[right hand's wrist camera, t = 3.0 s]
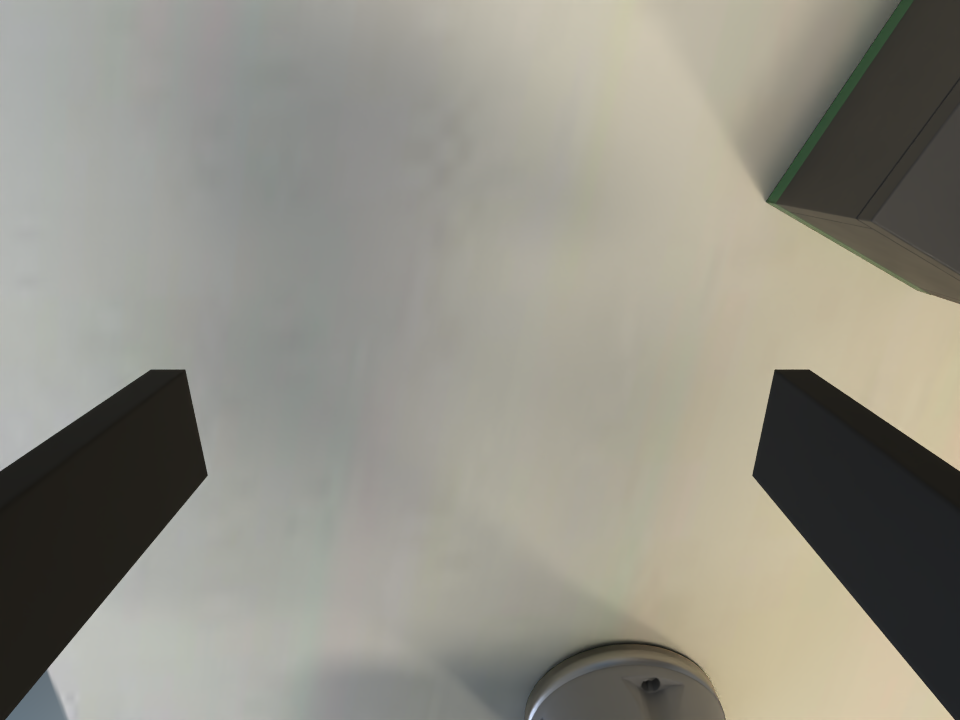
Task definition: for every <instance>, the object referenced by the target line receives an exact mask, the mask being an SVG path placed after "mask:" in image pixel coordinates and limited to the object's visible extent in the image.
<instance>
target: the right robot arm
mask: <svg viewBox="0 0 960 720" xmlns="http://www.w3.org/2000/svg"><path fill="white" fill-rule="evenodd" d="M207 476H208V475H207V470H206V465H205V461H204V456H203V451H202V446H201V442H200V437H199V432H198V428H197V423H196V418H195V413H194V409H193V404H192V399H191V395H190V390H189V385H188V380H187V376H186V371H185V370H150V371H148V372H147V373H145V374H144V375H142V376H141V377H139V378H138V379H136V380H135V381H133V382H132V383H130V384H129V385H127V386H126V387H124V388H123V389H121V390H120V391H119V392H117V393H116V394H114V395H113V396H111V397H110V398H108V399H107V400H105V401H104V402H102V403H101V404H99V405H98V406H96V407H95V408H93V409H92V410H90V411H89V412H87V413H86V414H84V415H83V416H82V417H80V418H79V419H77V420H76V421H74V422H73V423H71V424H70V425H68V426H67V427H65V428H64V429H62V430H61V431H59V432H58V433H56V434H55V435H53V436H52V437H50V438H49V439H48V440H46V441H45V442H43V443H42V444H40V445H39V446H37V447H36V448H34V449H33V450H31V451H30V452H28V453H27V454H25V455H24V456H22V457H21V458H19V459H18V460H16V461H15V462H13V463H12V464H11V465H9V466H8V467H6V468H5V469H3V470H2V471H0V720H5V719H6V718H7V717H8V716H9V714H10V713H11V712H12V711H13V710H14V708H15V707H16V706H17V705H18V704H19V702H20V701H21V700H22V699H23V698H24V696H25V695H26V694H27V693H28V692H29V690H30V689H31V688H32V687H33V685H34V684H35V683H36V682H37V681H38V679H39V678H40V677H41V676H42V675H43V673H44V672H45V671H46V670H47V669H48V667H49V666H50V665H51V664H52V663H53V661H54V660H55V659H56V658H57V657H58V655H59V654H60V653H61V652H62V651H63V649H64V648H65V647H66V646H67V645H68V643H69V642H70V641H71V640H72V638H73V637H74V636H75V635H76V634H77V632H78V631H79V630H80V629H81V628H82V626H83V625H84V624H85V623H86V622H87V620H88V619H89V618H90V617H91V616H92V614H93V613H94V612H95V611H96V610H97V608H98V607H99V606H100V605H101V604H102V602H103V601H104V600H105V599H106V598H107V596H108V595H109V594H110V593H111V591H112V590H113V589H114V588H115V587H116V585H117V584H118V583H119V582H120V581H121V579H122V578H123V577H124V576H125V575H126V573H127V572H128V571H129V570H130V569H131V567H132V566H133V565H134V564H135V563H136V561H137V560H138V559H139V558H140V557H141V555H142V554H143V553H144V552H145V550H146V549H147V548H148V547H149V546H150V544H151V543H152V542H153V541H154V540H155V538H156V537H157V536H158V535H159V534H160V532H161V531H162V530H163V529H164V528H165V526H166V525H167V524H168V523H169V522H170V520H171V519H172V518H173V517H174V516H175V514H176V513H177V512H178V511H179V509H180V508H181V507H182V506H183V505H184V503H185V502H186V501H187V500H188V499H189V497H190V496H191V495H192V494H193V493H194V491H195V490H196V489H197V488H198V487H199V485H200V484H201V483H202V482H203V481H204V479H205V478H206V477H207ZM752 476H753V477H754V478H755V479H756V481H757V482H758V483H759V484H760V485H761V487H762V488H763V489H764V490H765V491H766V493H767V494H768V495H769V496H770V497H771V499H772V500H773V501H774V502H775V503H776V505H777V506H778V507H779V508H780V509H781V511H782V512H783V513H784V514H785V516H786V517H787V518H788V519H789V520H790V522H791V523H792V524H793V525H794V526H795V528H796V529H797V530H798V531H799V532H800V534H801V535H802V536H803V537H804V538H805V540H806V541H807V542H808V543H809V544H810V546H811V547H812V548H813V549H814V550H815V552H816V553H817V554H818V555H819V557H820V558H821V559H822V560H823V561H824V563H825V564H826V565H827V566H828V567H829V569H830V570H831V571H832V572H833V573H834V575H835V576H836V577H837V578H838V579H839V581H840V582H841V583H842V584H843V585H844V587H845V588H846V589H847V590H848V591H849V593H850V594H851V595H852V596H853V598H854V599H855V600H856V601H857V602H858V604H859V605H860V606H861V607H862V608H863V610H864V611H865V612H866V613H867V614H868V616H869V617H870V618H871V619H872V620H873V622H874V623H875V624H876V625H877V626H878V628H879V629H880V630H881V631H882V632H883V634H884V635H885V636H886V637H887V638H888V640H889V641H890V642H891V643H892V645H893V646H894V647H895V648H896V649H897V651H898V652H899V653H900V654H901V655H902V657H903V658H904V659H905V660H906V661H907V663H908V664H909V665H910V666H911V667H912V669H913V670H914V671H915V672H916V673H917V675H918V676H919V677H920V678H921V679H922V681H923V682H924V683H925V684H926V686H927V687H928V688H929V689H930V690H931V692H932V693H933V694H934V695H935V696H936V698H937V699H938V700H939V701H940V702H941V704H942V705H943V706H944V707H945V708H946V710H947V711H948V712H949V713H950V714H951V716H952V717H953V718H954V719H955V720H960V471H958V470H957V469H955V468H954V467H952V466H951V465H949V464H948V463H947V462H945V461H944V460H942V459H941V458H939V457H938V456H936V455H935V454H933V453H932V452H930V451H929V450H927V449H926V448H924V447H923V446H921V445H920V444H918V443H917V442H915V441H914V440H912V439H911V438H910V437H908V436H907V435H905V434H904V433H902V432H901V431H899V430H898V429H896V428H895V427H893V426H892V425H890V424H889V423H887V422H886V421H884V420H883V419H881V418H880V417H878V416H877V415H876V414H874V413H873V412H871V411H870V410H868V409H867V408H865V407H864V406H862V405H861V404H859V403H858V402H856V401H855V400H853V399H852V398H850V397H849V396H847V395H846V394H844V393H843V392H841V391H840V390H839V389H837V388H836V387H834V386H833V385H831V384H830V383H828V382H827V381H825V380H824V379H822V378H821V377H819V376H818V375H816V374H815V373H813V372H812V371H810V370H775V371H774V376H773V380H772V385H771V390H770V395H769V399H768V404H767V409H766V413H765V418H764V423H763V428H762V432H761V437H760V442H759V446H758V451H757V456H756V461H755V465H754V470H753V475H752ZM525 720H725V715H724V711H723V708H722V706H721V704H720V701H719V699H718V697H717V694H716V692H715V690H714V687H713V685H712V683H711V681H710V680H709V678H708V677H707V675H706V674H705V673H704V672H703V671H702V670H701V669H700V668H699V667H698V666H697V665H696V664H695V663H693V662H692V661H690V660H689V659H687V658H685V657H684V656H682V655H680V654H677V653H675V652H673V651H670V650H667V649H664V648H659V647H655V646H649V645H640V644H619V645H610V646H604V647H599V648H595V649H591V650H588V651H585V652H582V653H579V654H577V655H575V656H573V657H570V658H568V659H566V660H565V661H563V662H561V663H560V664H558V665H557V666H555V667H554V668H552V669H551V670H550V671H549V672H548V673H546V674H545V675H544V676H543V677H542V678H541V679H540V681H539V682H538V683H537V684H536V686H535V687H534V689H533V690H532V692H531V694H530V696H529V698H528V701H527V704H526V709H525Z"/></svg>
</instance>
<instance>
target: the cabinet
mask: <svg viewBox="0 0 960 720" xmlns="http://www.w3.org/2000/svg"><path fill="white" fill-rule="evenodd" d="M766 202H767V203H768V204H770V205H772V206H774V207H775V208H777V209H779V210H780V211H782V212H784V213H786V214H787V215H789V216H791V217H792V218H794V219H796V220H798V221H799V222H801V223H803V224H804V225H806V226H808V227H810V228H811V229H813V230H815V231H816V232H818V233H820V234H822V235H823V236H825V237H827V238H828V239H830V240H832V241H833V242H835V243H837V244H839V245H840V246H842V247H844V248H845V249H847V250H849V251H851V252H852V253H854V254H856V255H857V256H859V257H861V258H863V259H864V260H866V261H868V262H869V263H871V264H873V265H875V266H876V267H878V268H880V269H881V270H883V271H885V272H887V273H888V274H890V275H892V276H893V277H895V278H897V279H899V280H900V281H902V282H904V283H905V284H907V285H909V286H910V287H912V288H914V289H916V290H917V291H920V292H923V293H927V294H930V295H934V296H937V297H940V298H943V299H946V300H949V301H952V302H956V303H959V304H960V0H902V1H901V2H900V4H899V5H898V7H897V8H896V10H895V11H894V13H893V14H892V16H891V17H890V19H889V20H888V22H887V23H886V25H885V26H884V28H883V29H882V31H881V32H880V34H879V35H878V36H877V38H876V39H875V41H874V42H873V44H872V45H871V47H870V48H869V50H868V51H867V53H866V54H865V56H864V57H863V59H862V60H861V62H860V63H859V65H858V66H857V68H856V69H855V71H854V72H853V74H852V75H851V77H850V78H849V80H848V81H847V83H846V84H845V85H844V87H843V88H842V90H841V91H840V93H839V94H838V96H837V97H836V99H835V100H834V102H833V103H832V105H831V106H830V108H829V109H828V111H827V112H826V114H825V115H824V117H823V118H822V120H821V121H820V123H819V124H818V126H817V127H816V129H815V130H814V132H813V133H812V134H811V136H810V137H809V139H808V140H807V142H806V143H805V145H804V146H803V148H802V149H801V151H800V152H799V154H798V155H797V157H796V158H795V160H794V161H793V163H792V164H791V166H790V167H789V169H788V170H787V172H786V173H785V175H784V176H783V178H782V179H781V181H780V182H779V183H778V185H777V186H776V188H775V189H774V191H773V192H772V194H771V195H770V197H769V198H768V200H767V201H766Z"/></svg>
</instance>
